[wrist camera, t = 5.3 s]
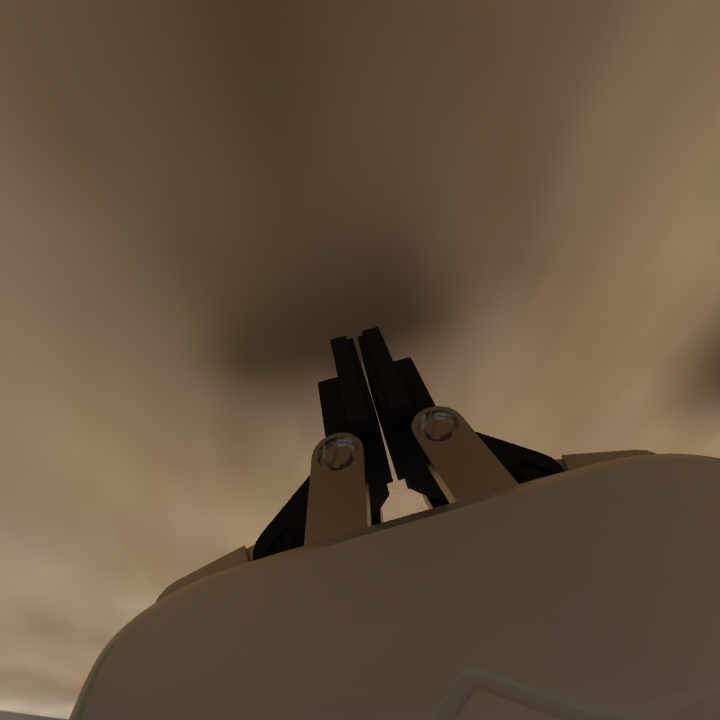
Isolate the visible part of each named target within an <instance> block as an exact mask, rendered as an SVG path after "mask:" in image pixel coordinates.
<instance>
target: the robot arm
mask: <svg viewBox="0 0 720 720" xmlns="http://www.w3.org/2000/svg"><path fill="white" fill-rule="evenodd" d="M330 341H331V346H332V350H333V355H334V360H335V364H336V369H337V373H338V377H336V378H332V379H328V380H325V381H321V382H318V387H319V394H320V401H321V408H322V415H323V422H324V429H325V436H326V438H324V439H323V440H322V441H320V442H319V443H318V444H317V446H316V447H315V449H314V450H313V454H312V460H311V471H310V476H309V477H308V478H307V479H306V481H305V482H304V483H303V484H302V485H301V487H300V488H299V489H298V490H297V491H296V493H295V494H294V495H293V496H292V497H291V499H290V500H289V501H288V502H287V503H286V505H285V506H284V507H283V508H282V509H281V511H280V512H279V513H278V514H277V516H276V517H275V518H274V519H273V520H272V522H271V523H270V524H269V525H268V526H267V528H266V529H265V530H264V531H263V532H262V534H261V535H260V537H259V538H258V540H257V541H256V544H255V545H253V546H251V547H249V548H246V547H245V545H244V546H242V547H240V548H238V549H237V550H235V551H233V552H231V553H229V554H227V555H225V556H223V557H221V558H219V559H217V560H215V561H213V562H212V563H210V564H208V565H206V566H204V567H202V568H200V569H198V570H196V571H194V572H192V573H190V574H188V575H187V576H185V577H183V578H181V579H179V580H177V581H175V582H174V583H172V584H171V585H170V586H168V587H167V588H166V589H165V590H164V591H163V592H162V594H161V595H160V596H159V597H158V599H157V601H156V603H155V604H153V605H152V606H150V607H149V608H147V609H146V610H144V611H143V612H142V613H140V614H139V615H137V616H136V617H135V618H134V619H133V620H131V621H130V622H129V623H128V624H126V625H125V626H124V627H123V628H122V629H121V630H120V631H119V632H118V633H117V634H116V635H115V636H114V637H113V638H112V639H111V640H110V642H109V643H108V644H107V645H106V646H105V648H104V649H103V651H102V652H101V654H100V655H99V657H98V658H97V660H96V662H95V663H94V665H93V667H92V669H91V671H90V672H89V674H88V677H87V679H86V681H85V683H84V685H83V687H82V689H81V692H80V694H79V697H78V699H77V701H76V704H75V706H74V708H73V711H72V713H71V716H70V718H69V720H720V459H719V458H714V457H709V456H701V455H691V454H672V453H669V454H656V453H653V452H650V451H647V450H625V451H611V452H597V453H583V454H569V455H562V458H561V459H555V460H554V459H553V458H551V457H549V456H547V455H545V454H542V453H539V452H536V451H533V450H530V449H527V448H524V447H521V446H518V445H515V444H512V443H509V442H506V441H502V440H499V439H496V438H493V437H490V436H487V435H484V434H481V433H478V432H475V431H474V430H473V429H472V428H471V426H470V425H469V424H468V423H467V422H466V421H465V419H464V418H463V417H462V416H461V415H460V414H459V413H458V412H457V411H455V410H453V409H451V408H448V407H443V406H435V404H434V402H433V400H432V398H431V396H430V394H429V392H428V390H427V388H426V386H425V384H424V382H423V380H422V379H421V377H420V375H419V373H418V371H417V369H416V367H415V365H414V363H413V361H412V359H411V358H410V357H409V358H405V359H401V360H398V361H394V362H393V360H392V358H391V355H390V353H389V351H388V348H387V346H386V344H385V342H384V339H383V337H382V335H381V332H380V330H379V328H378V327H376V328H372V329H368V330H365V331H363V335H362V336H359V337H358V341H359V345H360V349H361V353H362V358H363V362H364V366H365V370H366V374H367V378H368V382H369V386H370V390H371V394H372V398H373V401H372V398H371V395H370V392H369V388H368V385H367V382H366V379H365V376H364V372H363V369H362V366H361V363H360V360H359V357H358V353H357V350H356V347H355V344H354V341H353V338H351V339H346V336H342V337H339V338H335V339H331V340H330ZM373 402H374V404H373ZM374 405H375V408H376V411H377V415H378V418H379V421H380V424H381V427H382V430H383V434H384V437H385V440H386V443H387V446H388V449H389V453H390V456H391V459H392V462H393V465H394V468H395V472H396V475H397V478H398V480H401V479H405V481H406V484H407V487H408V489H409V488H410V489H412V490H414V491H416V492H419V493H421V494H423V497H424V500H425V503H426V504H427V506H428V508H429V510H425V511H422V512H418V513H415V514H411V515H408V516H404V517H401V518H397V519H394V520H390V521H387V522H383V513H382V509H381V507H382V505H383V504H384V502H385V501H386V499H387V498H388V496H389V491H388V487H387V483H391V482H393V480H392V476H391V471H390V467H389V463H388V459H387V455H386V451H385V447H384V443H383V439H382V434H381V430H380V426H379V422H378V418H377V415H376V411H375V408H374Z"/></svg>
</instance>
